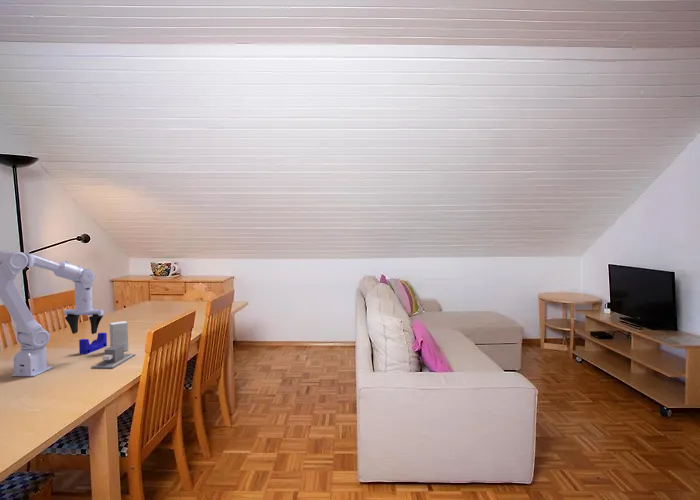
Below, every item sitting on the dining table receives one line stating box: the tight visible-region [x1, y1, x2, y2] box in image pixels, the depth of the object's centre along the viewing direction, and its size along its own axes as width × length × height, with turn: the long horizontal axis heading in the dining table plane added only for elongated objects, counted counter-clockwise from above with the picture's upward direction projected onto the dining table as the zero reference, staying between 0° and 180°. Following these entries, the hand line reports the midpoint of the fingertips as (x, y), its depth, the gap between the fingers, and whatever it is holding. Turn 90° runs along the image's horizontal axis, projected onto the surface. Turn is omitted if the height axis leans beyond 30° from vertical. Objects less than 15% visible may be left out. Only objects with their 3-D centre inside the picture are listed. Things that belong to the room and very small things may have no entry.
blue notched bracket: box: [78, 332, 108, 355], centre depth 178 cm, size 12×4×6 cm, turn 172°
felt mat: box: [90, 353, 136, 370], centre depth 163 cm, size 16×8×1 cm, turn 179°
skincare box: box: [109, 320, 129, 352], centre depth 177 cm, size 6×4×12 cm
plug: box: [101, 345, 125, 363], centre depth 162 cm, size 4×9×5 cm, turn 179°
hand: (84, 333), depth 167 cm, fingers open, 7 cm apart
